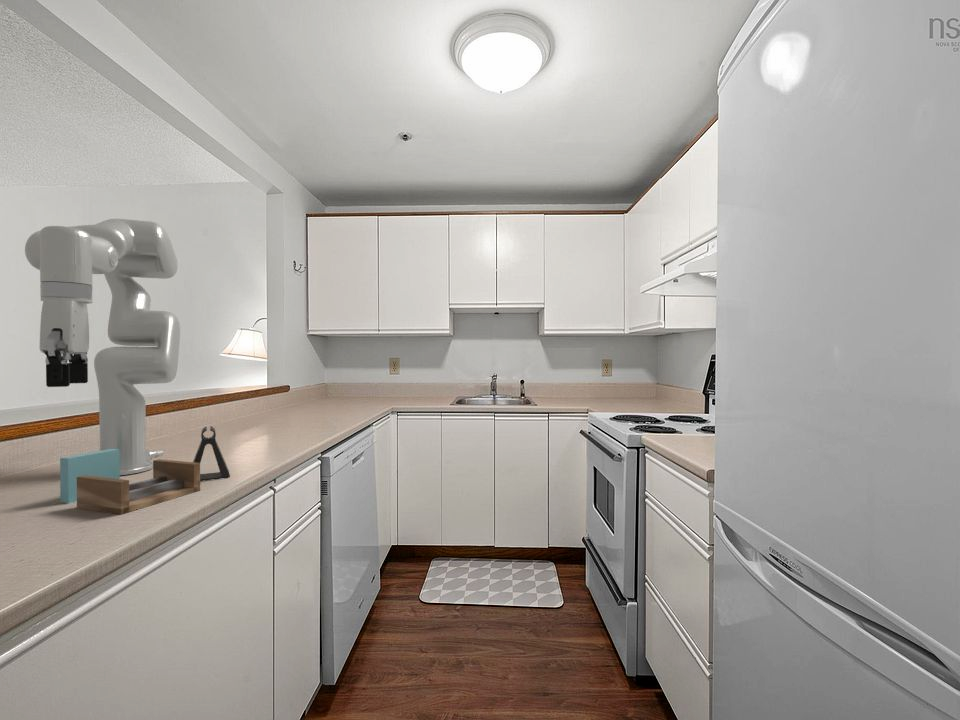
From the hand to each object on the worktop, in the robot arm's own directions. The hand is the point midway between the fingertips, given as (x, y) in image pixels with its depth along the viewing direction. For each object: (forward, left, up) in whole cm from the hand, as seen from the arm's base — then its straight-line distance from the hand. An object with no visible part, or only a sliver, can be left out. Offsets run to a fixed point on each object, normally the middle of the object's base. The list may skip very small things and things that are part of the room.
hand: (68, 384), depth 93 cm
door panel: (-8, -6, -24) cm, 26 cm away
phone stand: (-28, +4, -24) cm, 37 cm away
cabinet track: (-10, +6, -24) cm, 26 cm away
